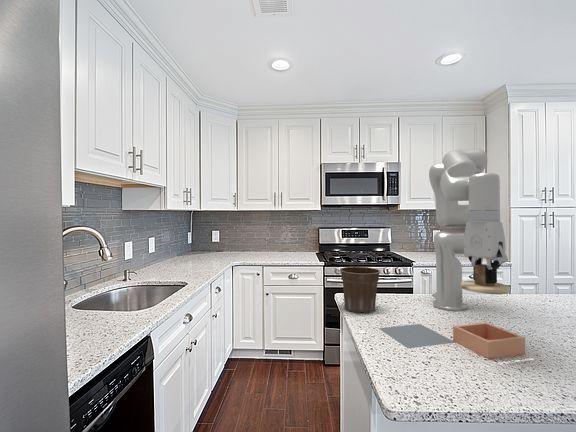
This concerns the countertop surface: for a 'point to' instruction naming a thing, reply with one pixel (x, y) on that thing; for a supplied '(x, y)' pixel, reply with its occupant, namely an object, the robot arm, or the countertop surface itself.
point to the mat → (415, 336)
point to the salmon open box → (489, 340)
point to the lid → (484, 283)
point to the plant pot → (360, 288)
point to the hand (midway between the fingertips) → (485, 281)
